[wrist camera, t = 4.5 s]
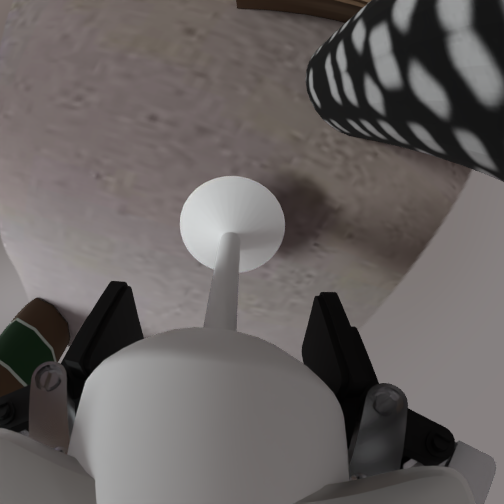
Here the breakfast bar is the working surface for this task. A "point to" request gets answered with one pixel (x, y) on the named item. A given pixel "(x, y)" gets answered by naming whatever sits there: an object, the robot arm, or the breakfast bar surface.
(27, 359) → the beer bottle
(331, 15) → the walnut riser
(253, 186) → the champagne flute
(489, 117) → the spotted tube
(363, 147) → the breakfast bar surface
